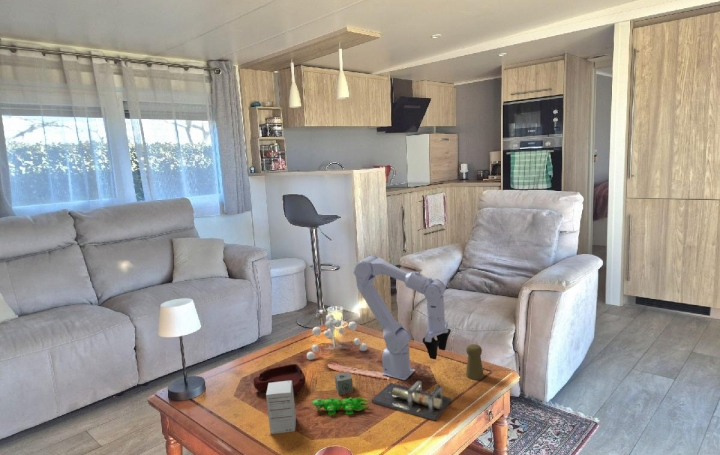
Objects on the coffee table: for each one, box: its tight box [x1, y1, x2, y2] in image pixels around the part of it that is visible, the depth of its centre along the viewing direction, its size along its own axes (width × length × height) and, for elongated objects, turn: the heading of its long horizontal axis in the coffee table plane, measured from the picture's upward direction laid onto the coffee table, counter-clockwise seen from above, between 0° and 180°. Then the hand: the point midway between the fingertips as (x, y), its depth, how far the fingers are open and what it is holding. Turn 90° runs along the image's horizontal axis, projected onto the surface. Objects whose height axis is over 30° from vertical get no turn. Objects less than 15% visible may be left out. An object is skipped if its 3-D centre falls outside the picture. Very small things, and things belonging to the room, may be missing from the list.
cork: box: [465, 343, 485, 381], centre depth 157 cm, size 6×6×11 cm
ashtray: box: [253, 363, 306, 397], centre depth 160 cm, size 18×16×5 cm
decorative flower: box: [306, 313, 368, 361], centre depth 185 cm, size 25×22×14 cm
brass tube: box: [392, 387, 443, 409], centre depth 142 cm, size 16×3×3 cm
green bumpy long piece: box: [311, 396, 370, 416], centre depth 142 cm, size 7×18×4 cm, turn 86°
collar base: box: [371, 380, 452, 422], centre depth 144 cm, size 22×12×6 cm, turn 56°
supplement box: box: [265, 381, 297, 435], centre depth 135 cm, size 7×7×13 cm
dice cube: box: [334, 371, 354, 396], centre depth 154 cm, size 5×5×5 cm
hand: (437, 354), depth 156 cm, fingers open, 7 cm apart
